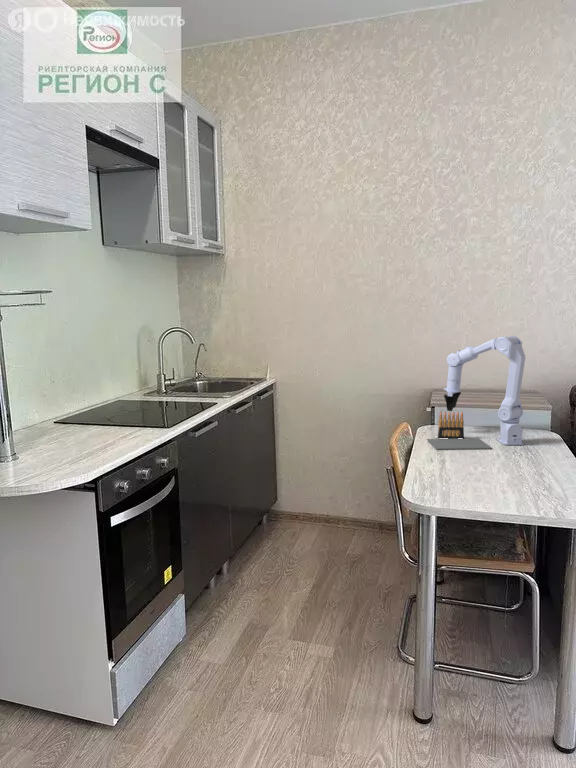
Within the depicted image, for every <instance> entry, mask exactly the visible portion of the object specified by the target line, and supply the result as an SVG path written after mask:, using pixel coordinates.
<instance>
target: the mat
mask: <svg viewBox="0 0 576 768" xmlns="http://www.w3.org/2000/svg"><path fill="white" fill-rule="evenodd" d="M427 440H428V441H427ZM426 441H427V443H429V444H430V445H431V446H432V447H433V448H434V449H435V450H436V451H459V450H460V451H464V450H465V451H467V450H468V451H470V450H471V451H472V450H473V451H475V450H477V451H478V450H479V451H481V450H493V447H492V446H491V445H489V444H488V443H486V442H484V441H483V440H481V438H478V437H477V438H473V437H472V438H469V437H467V438H465V437H464V439H438V438H427V439H426Z"/></svg>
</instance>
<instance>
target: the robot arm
mask: <svg viewBox="0 0 576 768" xmlns="http://www.w3.org/2000/svg"><path fill="white" fill-rule="evenodd" d="M491 350H495V351H496V350H497V351H498V352H499V353H501V354H502V355H504V356H505V357H507V358H508V360H509V367H508V368H509V369H508V375H507V382H506V389H505V396H504V399H503V400H502V402H501V404H500V408H499V409H498V411H497V416H498V418H499V420H500V424H499V425H500V428H499V429H500V431H499V437H500V438H496V441H498V442H499V443H501V444H503V445H504V446H523V445H525V443H523V428H522V426H520V418H521V417H522V416H523V414H524V413H523V412H524V410H523V407H522V404H523V402H522V400H520V396H521V390H522V389H521V388H522V382H523V375H524V368H525V362H526V355H525V351H524V348H523V341H522V340H521V339H520V338H519V337H518V336H517V335H510V336H499V337H498V338H497V337H496V338H493V339H491V340H488V341H486V342H484V343H481V344H480V345H478V346H476V347H475V346H470V345H467V346H465V348H464V349H461V350H456V353H455V352H454V353H453V352H451V353H450V354H448V356H447V357H446V363H447V365H448V369H447V371H448V372H447V381H446V387H444V388H443V390H444V391H446V392H447V394H444V395H443V397H444V400H445V403H446V410H447V411H448V412H449V411H450V412H453V411H454V410H453V409H454V408H456V406H457V402H458V400H459V397H460V396H461V394H462V392H461V382H462V373H463V372H462V370H463V365H464V364H466V363H468V362H471V361H474V360H476V359H477V358H478V356H479V355H481V354H483V353H486V352H488V351H491ZM447 411H446V412H447Z"/></svg>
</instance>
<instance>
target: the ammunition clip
mask: <svg viewBox="0 0 576 768" xmlns="http://www.w3.org/2000/svg"><path fill="white" fill-rule="evenodd" d="M455 413H456V414H455ZM459 414H460V415H459ZM464 425H465V424H464V413H463V411H461V412H460V413H459V411H456V412H455V411H454V410H452V414H451V411H448V413H447V411H444V413H443V411H440V413H439V416H438V429H437V430H438V433H437V439H438V438H448V439H458V438H465V433H464V431H465V428H464Z"/></svg>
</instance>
